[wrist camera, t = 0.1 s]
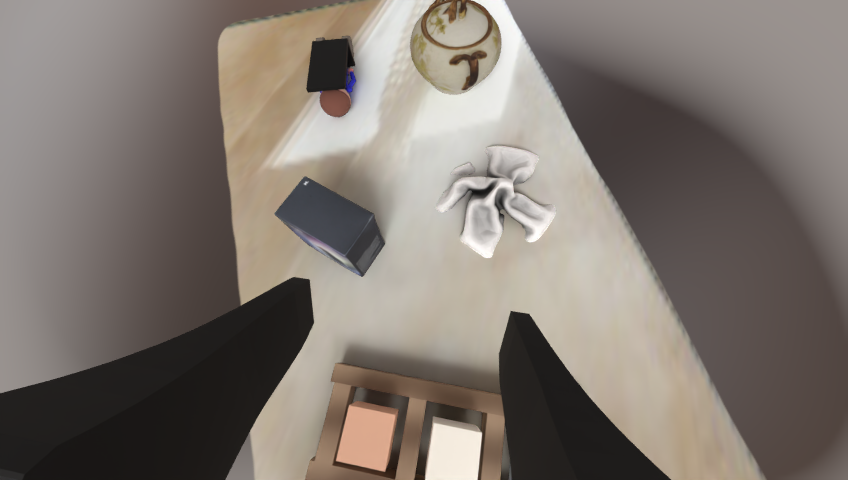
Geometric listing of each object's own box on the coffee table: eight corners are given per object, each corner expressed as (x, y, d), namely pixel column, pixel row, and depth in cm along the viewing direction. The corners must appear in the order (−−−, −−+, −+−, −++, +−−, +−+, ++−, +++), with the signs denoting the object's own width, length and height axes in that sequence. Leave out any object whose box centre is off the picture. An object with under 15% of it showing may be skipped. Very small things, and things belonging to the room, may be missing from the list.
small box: (303, 244, 46) (269, 214, 37) (329, 210, 48) (304, 172, 39) (361, 280, 44) (343, 257, 35) (386, 242, 46) (375, 211, 37)
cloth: (523, 135, 54) (534, 108, 48) (579, 228, 47) (600, 209, 42) (400, 175, 51) (397, 152, 45) (443, 279, 45) (445, 268, 39)
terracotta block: (389, 459, 34) (384, 471, 31) (345, 450, 35) (335, 460, 31) (398, 409, 36) (395, 415, 32) (357, 400, 37) (348, 405, 33)
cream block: (471, 477, 34) (476, 492, 30) (425, 467, 34) (425, 480, 30) (476, 425, 36) (482, 432, 32) (433, 416, 36) (433, 422, 32)
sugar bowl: (509, 110, 55) (536, 25, 41) (426, 128, 54) (425, 46, 40) (475, 34, 62) (489, -61, 48) (401, 48, 61) (393, -45, 47)
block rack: (578, 532, 34) (592, 548, 31) (313, 472, 36) (304, 482, 33) (579, 410, 38) (591, 413, 35) (341, 363, 40) (335, 363, 38)
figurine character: (324, 69, 61) (318, 124, 54) (311, 27, 54) (302, 84, 47) (359, 66, 61) (358, 121, 54) (350, 24, 54) (347, 81, 47)
